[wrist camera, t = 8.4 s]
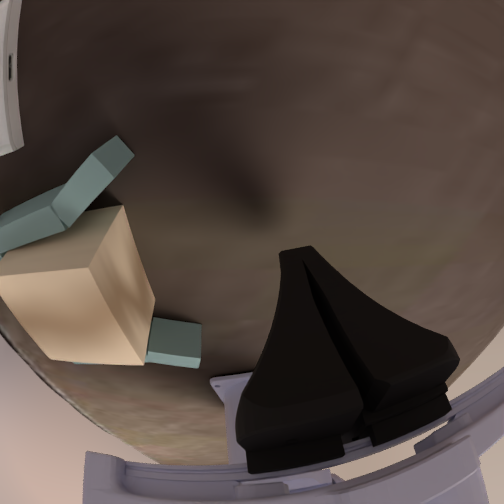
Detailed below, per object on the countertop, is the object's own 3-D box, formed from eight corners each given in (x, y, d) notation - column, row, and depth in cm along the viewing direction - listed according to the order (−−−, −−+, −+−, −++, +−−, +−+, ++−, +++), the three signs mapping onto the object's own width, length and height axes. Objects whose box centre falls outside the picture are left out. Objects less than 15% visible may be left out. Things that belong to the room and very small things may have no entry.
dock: (206, 334, 17) (206, 367, 15) (91, 345, 17) (84, 373, 15) (127, 131, 9) (104, 148, 7) (-6, 195, 9) (-32, 219, 7)
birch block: (155, 297, 15) (144, 365, 11) (72, 301, 15) (50, 359, 11) (124, 203, 11) (88, 267, 8) (31, 221, 11) (-12, 277, 7)
